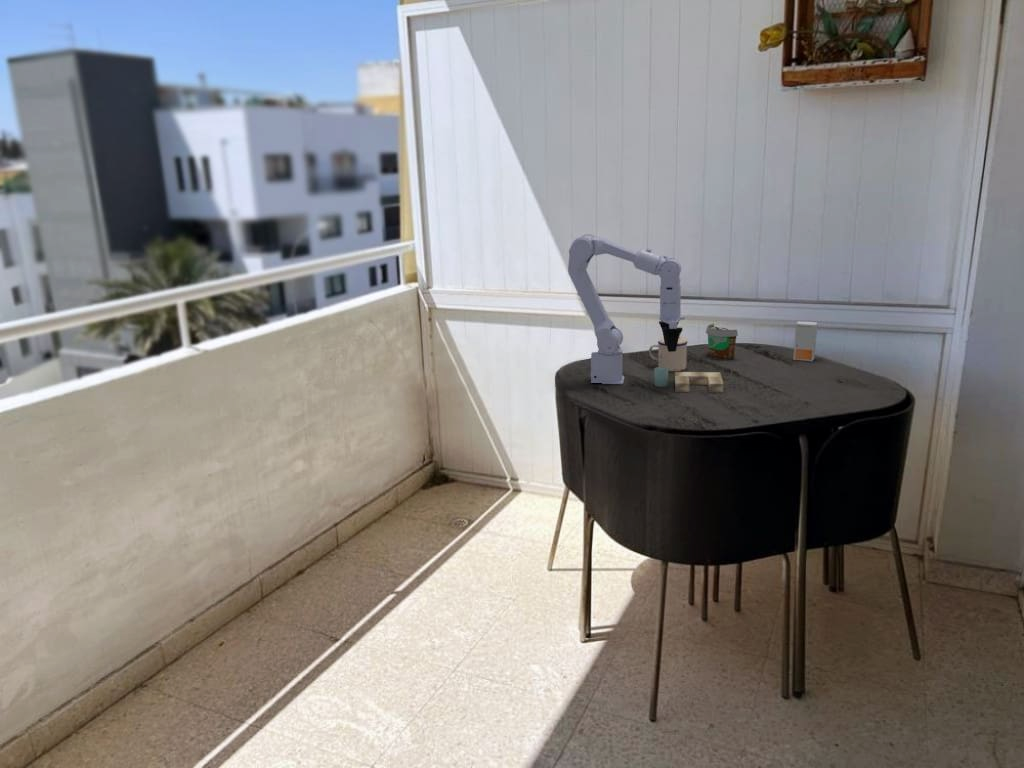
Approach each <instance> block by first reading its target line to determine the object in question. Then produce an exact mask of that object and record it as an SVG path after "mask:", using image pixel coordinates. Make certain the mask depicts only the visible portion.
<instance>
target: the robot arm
mask: <svg viewBox="0 0 1024 768" xmlns="http://www.w3.org/2000/svg"><path fill="white" fill-rule="evenodd" d="M568 255H569V256H568V266H567V272H568V275H569V277H570V279H571V281H572V284H573V285H574V287H575V289H576V291H577V294H578V296H579V297H580V300H581V302H582V305H583V307H584V308H585V310H586V312H587V314H588V317H589V318H590V320H591V323H592V325H593V328H594V334H595V337H596V345H597V348H598V349H597V351H595V352H594V351H593V352H591V354H590V355H591V356H590V384H591V383H602V384H601V385H624V381H625V376H624V375H623V349H622V348H621V346H620V345H621V344H622V343H623V339H624V335H623V333H622V331H621V330H620V329H619V328H618V327H616V325H615V323H614V321H612V319H611V318H610V317H609V315H608V313H607V311H606V308H605V307H604V304H603V303H602V299H601V297H600V296H599V294H598V291H597V290H596V288H595V285H594V284H593V281H592V279H591V278H590V277H591V276H590V275H589V273H588V271H587V269H588V267H589V265H590V264H589V263H590V262H591V259H592V258H593V257H594V256H601V255H610V256H613V257H616V258H619V259H622V260H624V261H625V260H626V261H629V262H630V263H631V262H632V263H633V265H634V268H635V269H637V270H640V271H643V272H645V273H647V274H651V275H653V276H659V278H660V286H659V291H660V292H659V321H658V324H659V326H660V328H661V332H662V336H663V337H664V342H665V345H666V346H667V349H668V352H675V351H676V348H677V344H678V339H679V336H680V337H681V333H682V332H683V330H684V329H683V327H678V325H679V322H680V321H682V320H685V319H686V317H685V315H681V314H682V313H681V310H682V309H681V301H682V300H681V299H682V298H681V297H682V296H681V291H682V290H681V277H680V275H681V272H682V265H681V263H680V262H679V261H678V260H677V259H675V257H668V255H666V254H664V255H661V254H657V253H655V252H652V248H646V249H644V248H641V249H640V250H638V251H636V250H634V249H632V248H630V247H626V246H625V245H622V244H619V243H617V242H615V241H612V240H610V239H608V238H604V237H601V236H595V235H593V234H586V233H585V234H583V235H581V236H579V237H577V238H576V239H574V240H573V241H572V243H571V246H570V248H569V250H568ZM663 337H662V338H663Z"/></svg>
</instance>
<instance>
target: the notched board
mask: <svg viewBox="0 0 1024 768" xmlns="http://www.w3.org/2000/svg"><path fill="white" fill-rule="evenodd" d="M691 385H692V386H693V385H698V386H699V385H700V386H701V385H702V386H703V385H706V386H707V387H708V393H724V381H723V378H722V375H721V372H720V371H719V372H715V371H714V372H710V371H709V372H707V371H706V372H705V371H702V372H701V371H700V372H698V371H696V372H695V371H674V387H675V388H674V389H675V390H674V391H675V392H676V393H679V392H680V393H689V392H690V386H691Z"/></svg>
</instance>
